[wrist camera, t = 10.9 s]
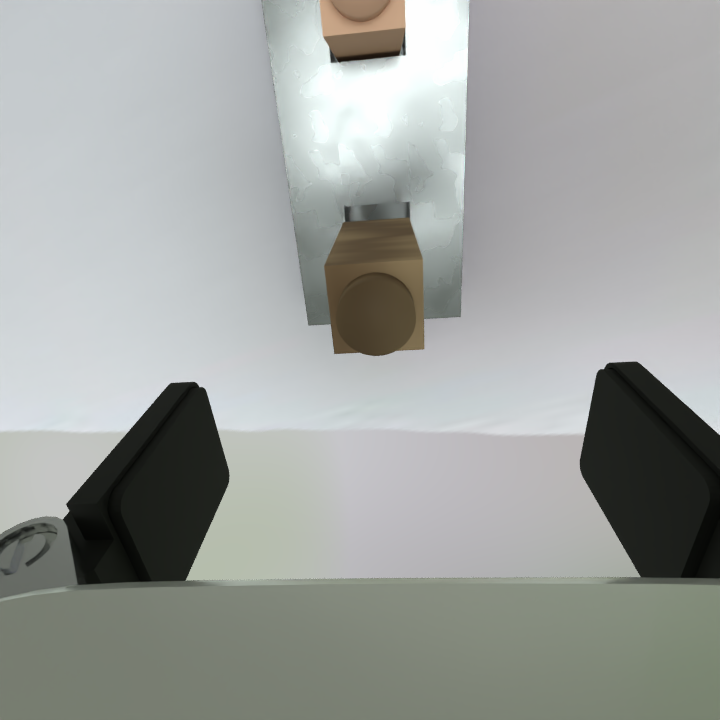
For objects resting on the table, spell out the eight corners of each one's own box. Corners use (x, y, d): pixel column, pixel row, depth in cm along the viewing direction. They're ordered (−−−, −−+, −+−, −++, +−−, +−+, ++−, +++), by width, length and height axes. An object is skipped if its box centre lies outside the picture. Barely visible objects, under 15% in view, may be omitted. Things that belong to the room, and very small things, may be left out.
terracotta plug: (396, -16, 28) (403, -99, 18) (398, 59, 30) (406, 21, 20) (334, -8, 28) (307, -87, 18) (340, 65, 30) (319, 31, 20)
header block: (458, -112, 26) (473, -162, 22) (451, 295, 38) (460, 316, 34) (265, -87, 27) (242, -130, 23) (316, 303, 39) (308, 325, 35)
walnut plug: (409, 217, 26) (425, 267, 16) (410, 281, 28) (426, 361, 18) (343, 222, 27) (320, 274, 17) (349, 285, 28) (331, 366, 18)
